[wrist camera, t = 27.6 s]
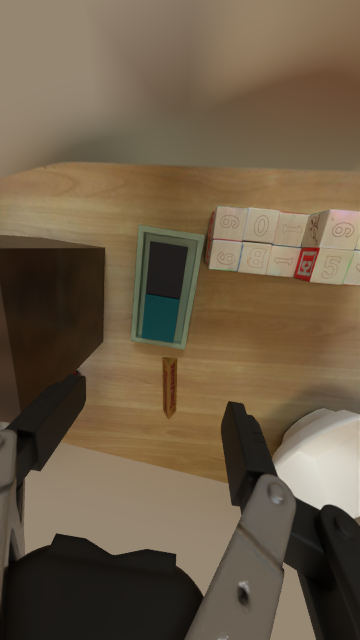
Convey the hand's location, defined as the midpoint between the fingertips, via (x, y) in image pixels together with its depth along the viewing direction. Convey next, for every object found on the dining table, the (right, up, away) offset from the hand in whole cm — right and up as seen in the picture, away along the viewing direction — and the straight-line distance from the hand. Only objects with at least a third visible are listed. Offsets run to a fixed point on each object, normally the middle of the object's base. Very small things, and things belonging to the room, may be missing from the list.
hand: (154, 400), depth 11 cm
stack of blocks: (+16, +15, +18) cm, 28 cm away
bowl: (+28, -17, +29) cm, 44 cm away
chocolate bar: (-1, -8, +27) cm, 28 cm away
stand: (-16, +9, +22) cm, 29 cm away
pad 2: (-1, +6, +22) cm, 22 cm away
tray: (-1, +9, +21) cm, 23 cm away
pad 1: (0, +12, +19) cm, 23 cm away
